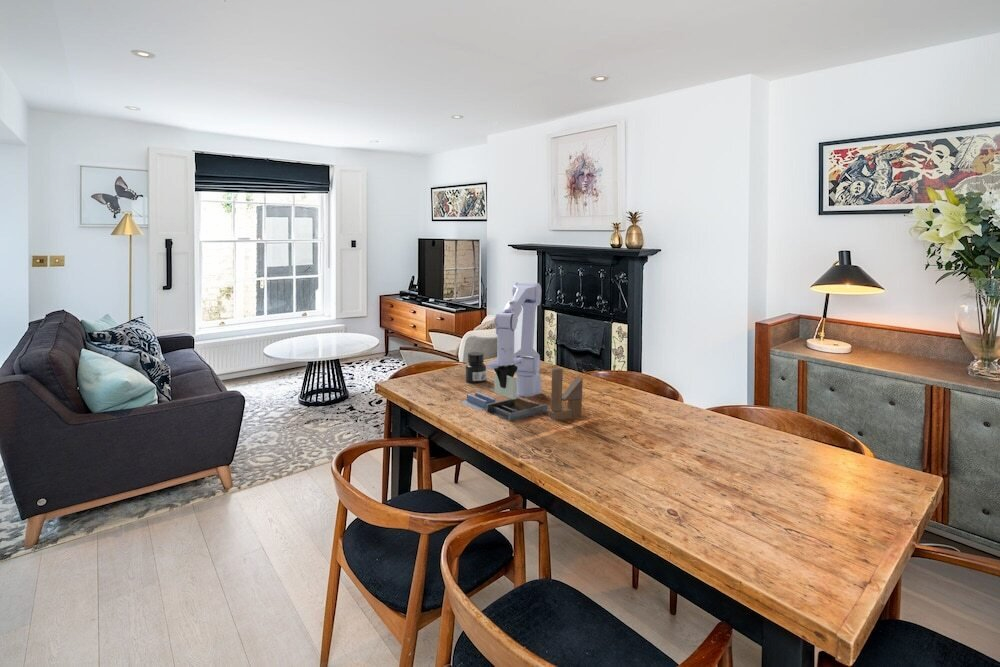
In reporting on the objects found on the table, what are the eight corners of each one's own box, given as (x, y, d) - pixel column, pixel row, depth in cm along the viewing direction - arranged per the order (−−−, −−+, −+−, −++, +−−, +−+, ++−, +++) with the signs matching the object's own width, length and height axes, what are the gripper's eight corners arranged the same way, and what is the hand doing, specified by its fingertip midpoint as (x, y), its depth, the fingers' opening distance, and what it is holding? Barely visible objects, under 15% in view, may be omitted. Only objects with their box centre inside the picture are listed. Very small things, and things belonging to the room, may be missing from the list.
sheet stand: (481, 399, 202) (482, 390, 201) (501, 407, 192) (501, 398, 192) (460, 404, 195) (460, 395, 195) (479, 412, 186) (479, 403, 186)
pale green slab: (498, 391, 186) (498, 372, 185) (516, 398, 178) (516, 378, 177) (494, 392, 185) (494, 373, 184) (513, 399, 178) (513, 379, 176)
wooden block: (581, 419, 181) (583, 367, 177) (553, 423, 177) (554, 370, 173) (576, 415, 184) (577, 365, 181) (548, 419, 180) (549, 368, 177)
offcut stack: (523, 404, 192) (524, 394, 191) (538, 410, 186) (539, 400, 185) (514, 407, 189) (514, 397, 189) (529, 413, 183) (529, 402, 183)
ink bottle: (476, 385, 221) (476, 357, 219) (460, 381, 227) (460, 354, 224) (491, 380, 229) (491, 353, 227) (475, 377, 234) (475, 350, 232)
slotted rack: (523, 405, 195) (523, 395, 195) (547, 414, 185) (547, 404, 185) (486, 414, 185) (486, 404, 184) (510, 424, 175) (510, 414, 174)
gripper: (496, 352, 171) (496, 393, 174) (529, 347, 180) (529, 385, 183) (483, 349, 177) (483, 388, 179) (516, 344, 186) (515, 381, 188)
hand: (505, 386), depth 181 cm, fingers closed on pale green slab, 2 cm apart
